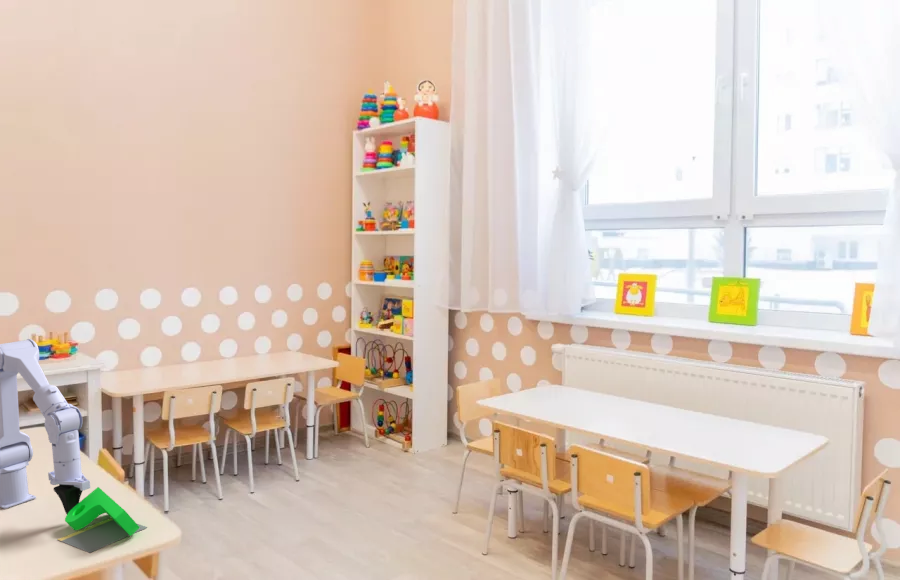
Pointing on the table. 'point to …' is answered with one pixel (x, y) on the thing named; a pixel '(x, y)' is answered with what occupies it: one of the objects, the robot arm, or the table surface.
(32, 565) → the table surface
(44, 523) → the table surface
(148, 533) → the table surface
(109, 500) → the bracket
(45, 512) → the table surface
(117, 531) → the mat
